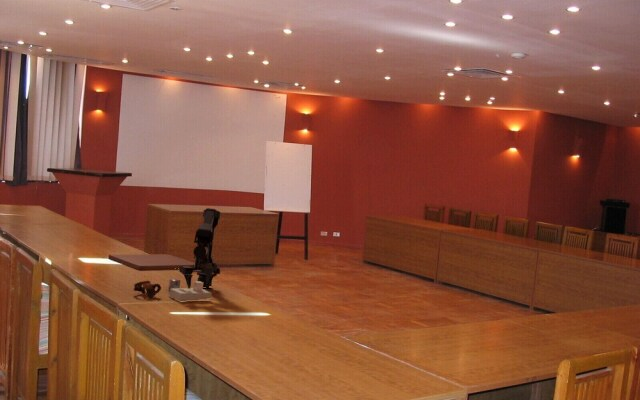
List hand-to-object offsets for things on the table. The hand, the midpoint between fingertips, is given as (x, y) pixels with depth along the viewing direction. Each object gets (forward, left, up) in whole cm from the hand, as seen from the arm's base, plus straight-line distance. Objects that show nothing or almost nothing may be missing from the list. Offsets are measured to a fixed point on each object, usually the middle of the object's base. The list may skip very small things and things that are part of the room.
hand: (197, 288), depth 324 cm
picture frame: (-21, -85, -6) cm, 87 cm away
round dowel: (+5, -14, -5) cm, 16 cm away
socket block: (+4, 0, -5) cm, 6 cm away
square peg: (0, 0, -5) cm, 5 cm away
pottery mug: (+22, -8, -5) cm, 23 cm away
